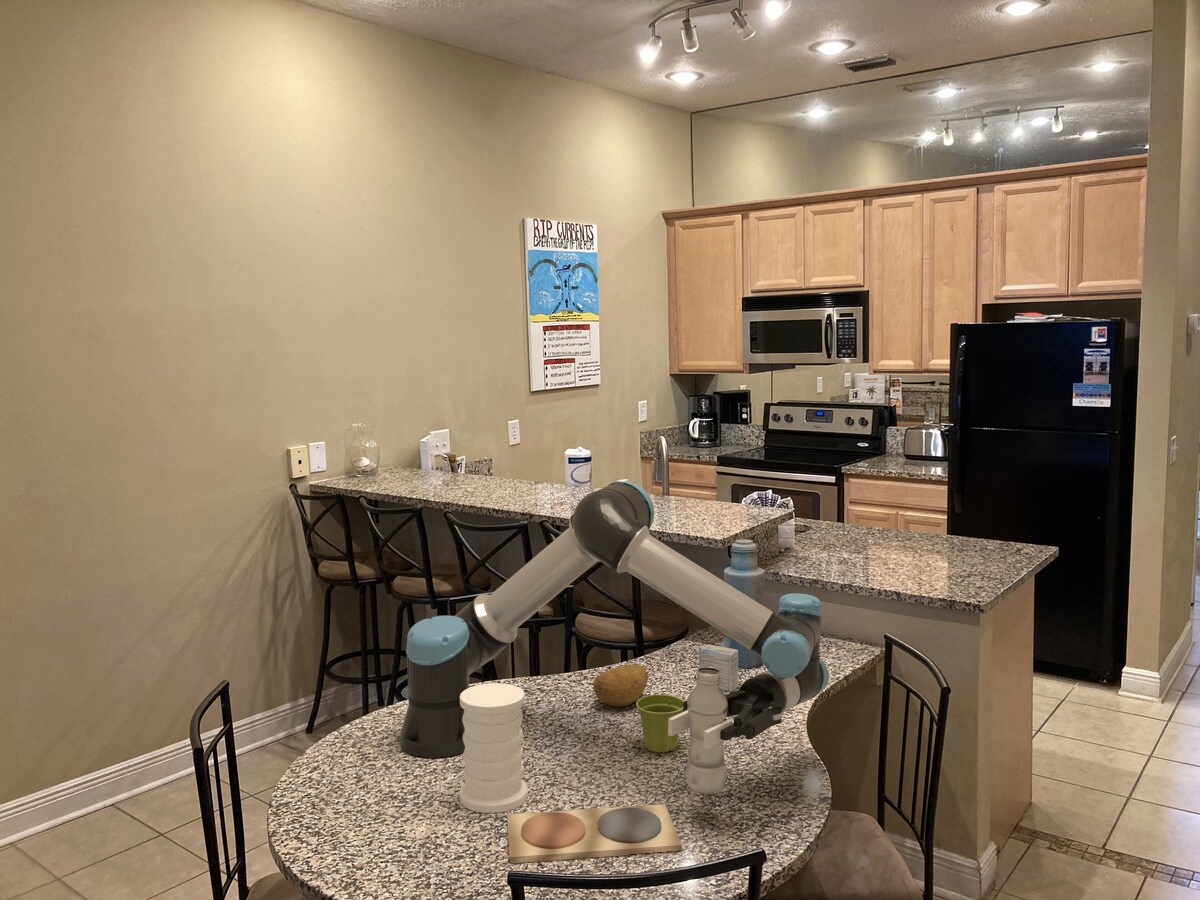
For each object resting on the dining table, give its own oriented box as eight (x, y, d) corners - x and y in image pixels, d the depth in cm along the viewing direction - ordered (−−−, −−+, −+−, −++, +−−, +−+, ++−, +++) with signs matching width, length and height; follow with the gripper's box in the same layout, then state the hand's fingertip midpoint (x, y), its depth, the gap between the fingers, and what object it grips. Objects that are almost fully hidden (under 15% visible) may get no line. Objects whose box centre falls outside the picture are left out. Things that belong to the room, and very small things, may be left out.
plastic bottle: (716, 803, 149) (719, 681, 147) (677, 792, 153) (680, 672, 150) (733, 787, 154) (736, 669, 152) (695, 776, 158) (698, 660, 156)
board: (509, 863, 141) (509, 853, 140) (507, 820, 153) (507, 810, 153) (681, 851, 144) (681, 841, 144) (665, 809, 157) (665, 800, 156)
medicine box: (738, 686, 213) (739, 649, 212) (730, 693, 209) (730, 655, 208) (707, 680, 217) (707, 643, 216) (698, 686, 214) (698, 648, 213)
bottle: (766, 669, 225) (769, 544, 221) (725, 669, 225) (726, 544, 221) (760, 656, 234) (762, 536, 231) (720, 655, 234) (722, 536, 231)
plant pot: (682, 759, 176) (682, 714, 175) (632, 755, 178) (632, 710, 177) (688, 738, 185) (688, 696, 184) (640, 735, 187) (640, 692, 186)
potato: (660, 700, 205) (660, 664, 204) (616, 718, 195) (616, 681, 194) (627, 689, 212) (627, 654, 211) (582, 706, 202) (582, 670, 201)
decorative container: (470, 818, 154) (468, 712, 152) (451, 788, 165) (449, 688, 163) (537, 805, 159) (536, 701, 157) (515, 776, 169) (514, 678, 167)
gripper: (816, 731, 159) (738, 776, 142) (722, 700, 172) (640, 739, 155) (818, 687, 158) (739, 728, 142) (723, 660, 171) (640, 694, 155)
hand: (687, 733), depth 149 cm, fingers closed on plastic bottle, 6 cm apart
